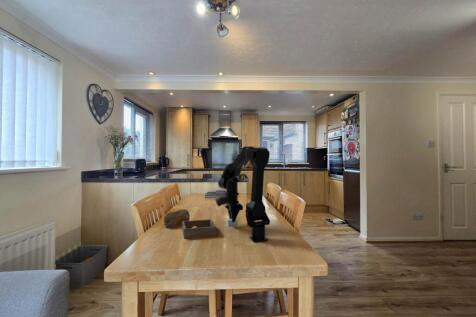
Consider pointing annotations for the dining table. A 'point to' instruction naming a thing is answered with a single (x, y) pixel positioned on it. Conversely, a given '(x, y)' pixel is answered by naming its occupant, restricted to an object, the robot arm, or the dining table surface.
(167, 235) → the dining table surface
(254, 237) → the robot arm
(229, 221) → the lid
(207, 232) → the box
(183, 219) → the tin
